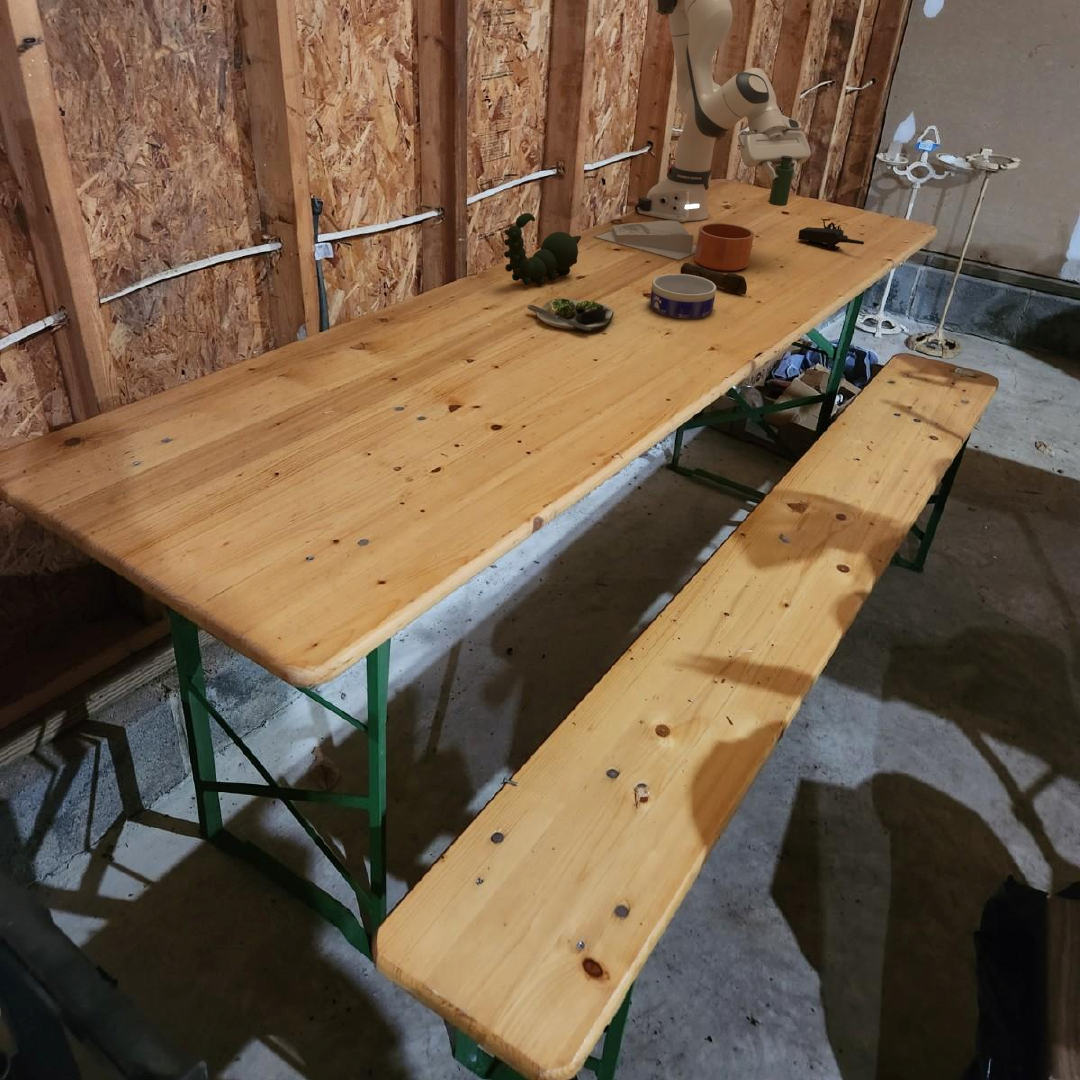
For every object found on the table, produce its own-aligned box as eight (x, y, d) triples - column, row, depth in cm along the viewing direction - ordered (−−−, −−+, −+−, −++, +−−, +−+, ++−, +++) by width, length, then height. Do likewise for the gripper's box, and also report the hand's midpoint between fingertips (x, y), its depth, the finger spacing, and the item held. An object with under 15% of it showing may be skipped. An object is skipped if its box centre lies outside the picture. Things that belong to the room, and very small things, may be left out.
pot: (690, 267, 250) (695, 234, 245) (699, 252, 262) (704, 220, 257) (744, 276, 247) (750, 242, 242) (750, 260, 259) (756, 227, 253)
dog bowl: (636, 305, 224) (639, 280, 221) (676, 292, 233) (679, 268, 230) (686, 324, 215) (689, 299, 212) (725, 310, 224) (729, 286, 221)
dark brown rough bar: (677, 278, 242) (680, 261, 240) (686, 275, 245) (689, 257, 242) (739, 298, 232) (742, 280, 230) (747, 295, 235) (751, 277, 232)
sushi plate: (516, 325, 209) (517, 305, 206) (539, 300, 223) (540, 281, 220) (599, 339, 205) (601, 319, 202) (617, 312, 219) (619, 293, 216)
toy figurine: (523, 301, 227) (593, 272, 240) (522, 224, 215) (595, 198, 229) (497, 290, 232) (567, 262, 246) (494, 214, 220) (568, 190, 234)
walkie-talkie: (808, 230, 279) (872, 239, 268) (800, 248, 279) (863, 258, 268) (803, 218, 274) (868, 227, 263) (794, 235, 274) (859, 245, 262)
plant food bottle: (767, 204, 244) (776, 157, 238) (769, 200, 248) (778, 153, 242) (786, 206, 243) (795, 159, 237) (787, 202, 247) (797, 156, 241)
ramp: (595, 237, 268) (596, 218, 265) (624, 226, 279) (626, 208, 276) (678, 259, 255) (681, 240, 252) (706, 248, 266) (709, 228, 263)
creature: (832, 234, 289) (814, 230, 285) (839, 217, 286) (821, 213, 282) (849, 242, 283) (830, 238, 279) (856, 224, 280) (837, 220, 277)
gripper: (743, 124, 236) (759, 173, 235) (805, 121, 244) (821, 169, 243) (729, 139, 242) (745, 187, 240) (790, 136, 250) (806, 182, 249)
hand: (784, 178), depth 242 cm, fingers closed on plant food bottle, 5 cm apart
